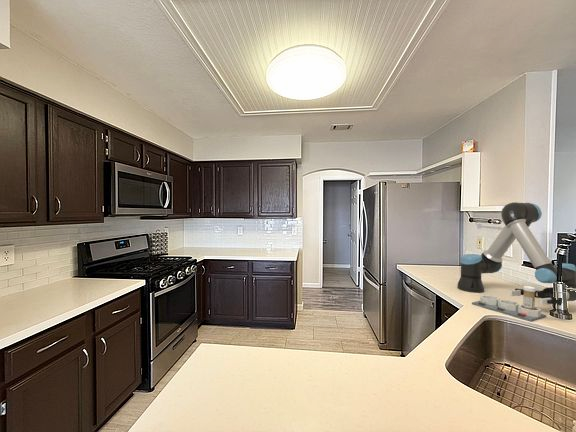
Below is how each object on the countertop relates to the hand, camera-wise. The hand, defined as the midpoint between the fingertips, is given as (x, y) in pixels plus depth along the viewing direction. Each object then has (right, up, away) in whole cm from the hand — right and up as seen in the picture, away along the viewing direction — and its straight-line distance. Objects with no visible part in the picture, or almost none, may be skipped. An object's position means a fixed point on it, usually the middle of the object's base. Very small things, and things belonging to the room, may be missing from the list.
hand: (525, 297), depth 137 cm
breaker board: (-3, -9, +8) cm, 13 cm away
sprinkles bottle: (+3, -9, +1) cm, 9 cm away
